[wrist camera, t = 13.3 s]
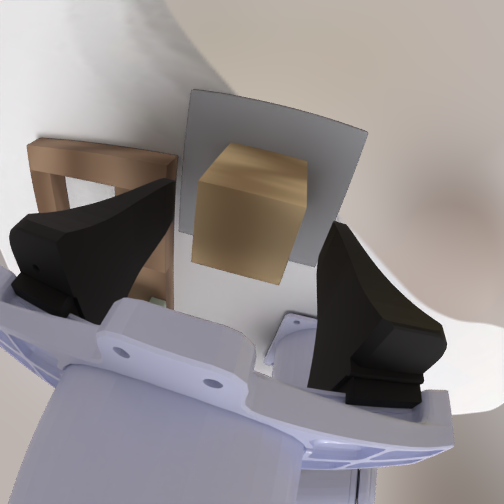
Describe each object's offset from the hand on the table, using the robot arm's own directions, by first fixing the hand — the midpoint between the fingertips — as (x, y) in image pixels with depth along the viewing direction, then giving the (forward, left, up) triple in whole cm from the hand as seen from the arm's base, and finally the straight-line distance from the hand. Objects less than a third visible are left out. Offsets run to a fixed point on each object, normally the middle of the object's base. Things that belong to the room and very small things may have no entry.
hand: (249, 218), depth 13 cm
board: (+11, +10, -4) cm, 15 cm away
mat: (0, 0, -4) cm, 4 cm away
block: (0, 0, -3) cm, 3 cm away
